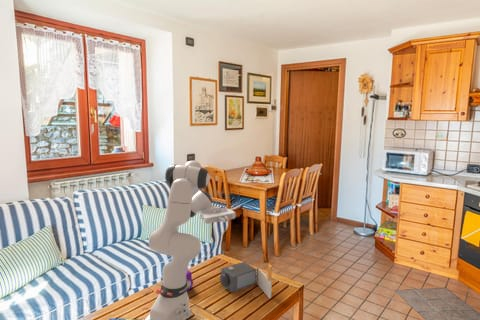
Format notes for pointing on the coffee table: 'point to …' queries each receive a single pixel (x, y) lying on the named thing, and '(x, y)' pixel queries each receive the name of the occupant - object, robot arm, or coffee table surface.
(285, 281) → the coffee table surface
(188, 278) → the toy camera
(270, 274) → the thin white panel
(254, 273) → the gray box camera
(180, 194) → the robot arm
